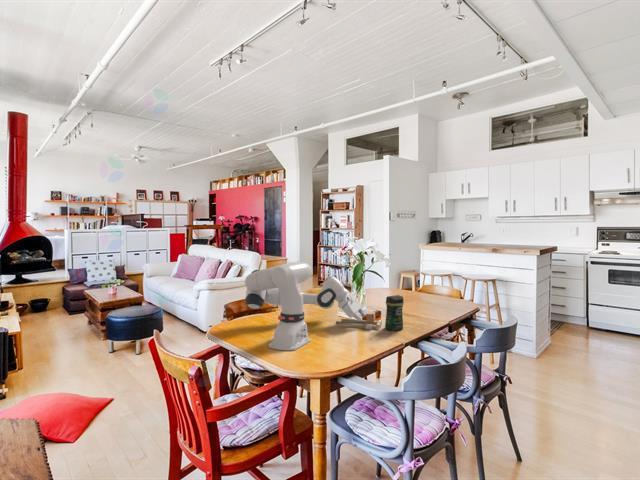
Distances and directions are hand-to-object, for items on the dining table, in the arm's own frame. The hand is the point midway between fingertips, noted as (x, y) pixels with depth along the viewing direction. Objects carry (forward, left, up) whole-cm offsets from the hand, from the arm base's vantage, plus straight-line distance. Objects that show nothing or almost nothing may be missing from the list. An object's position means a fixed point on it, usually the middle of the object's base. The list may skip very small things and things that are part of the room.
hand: (362, 318), depth 204 cm
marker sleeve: (0, -5, -4) cm, 6 cm away
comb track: (0, +2, -4) cm, 5 cm away
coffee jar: (0, -18, -5) cm, 18 cm away
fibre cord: (0, +3, -4) cm, 5 cm away
